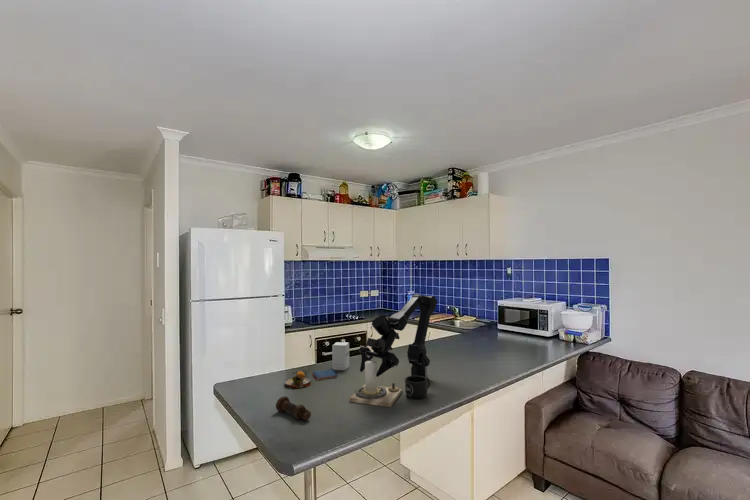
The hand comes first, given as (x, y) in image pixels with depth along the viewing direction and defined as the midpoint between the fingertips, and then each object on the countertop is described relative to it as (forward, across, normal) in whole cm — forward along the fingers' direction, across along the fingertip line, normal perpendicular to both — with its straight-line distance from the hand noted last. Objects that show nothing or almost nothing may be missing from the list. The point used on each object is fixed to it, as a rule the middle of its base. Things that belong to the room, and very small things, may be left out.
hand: (368, 373), depth 146 cm
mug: (-4, +13, +18) cm, 23 cm away
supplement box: (-7, -39, +21) cm, 45 cm away
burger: (+14, -36, +1) cm, 38 cm away
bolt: (+28, -9, -14) cm, 33 cm away
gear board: (+5, +2, +9) cm, 10 cm away
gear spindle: (+5, 0, +7) cm, 8 cm away
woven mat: (+3, -36, +12) cm, 38 cm away
